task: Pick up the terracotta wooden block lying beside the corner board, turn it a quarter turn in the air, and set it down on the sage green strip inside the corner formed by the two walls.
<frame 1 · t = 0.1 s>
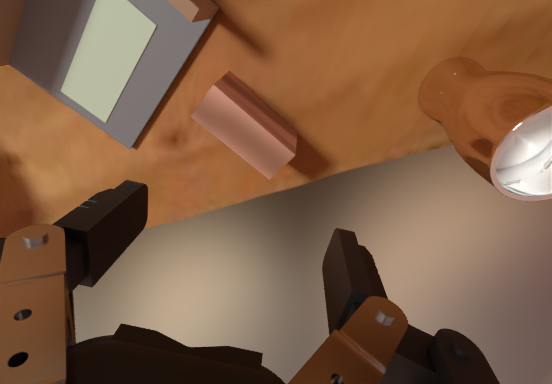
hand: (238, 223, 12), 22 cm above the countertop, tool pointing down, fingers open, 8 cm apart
block: (254, 115, 33), on the countertop
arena: (102, 33, 29), on the countertop
beer glass: (449, 89, 29), on the countertop
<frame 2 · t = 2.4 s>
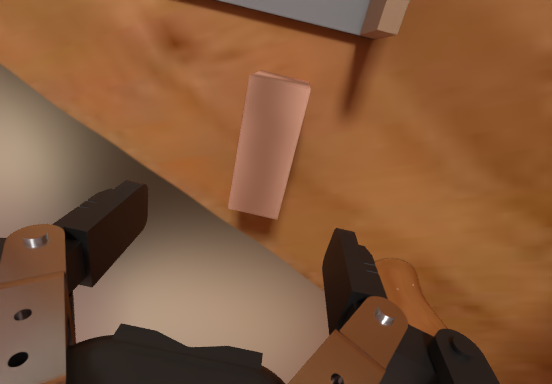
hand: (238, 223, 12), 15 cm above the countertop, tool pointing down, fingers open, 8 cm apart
block: (272, 134, 26), on the countertop
beer glass: (387, 278, 32), on the countertop
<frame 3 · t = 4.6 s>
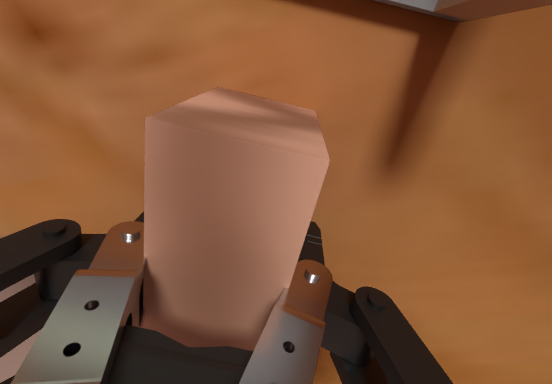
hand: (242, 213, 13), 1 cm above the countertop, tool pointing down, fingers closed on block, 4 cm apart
block: (246, 204, 14), on the countertop, touching gripper
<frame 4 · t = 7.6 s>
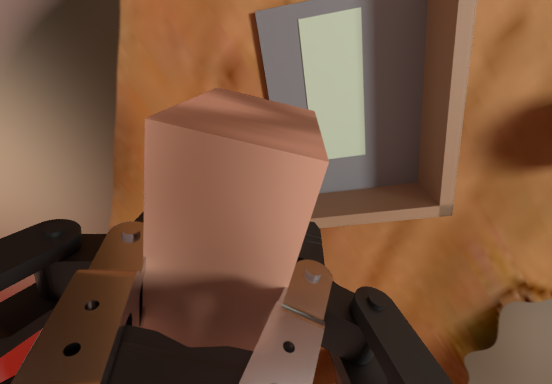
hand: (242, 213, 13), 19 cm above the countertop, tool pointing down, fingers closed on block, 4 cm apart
block: (245, 205, 14), point 19 cm above the countertop, touching gripper
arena: (350, 110, 29), on the countertop
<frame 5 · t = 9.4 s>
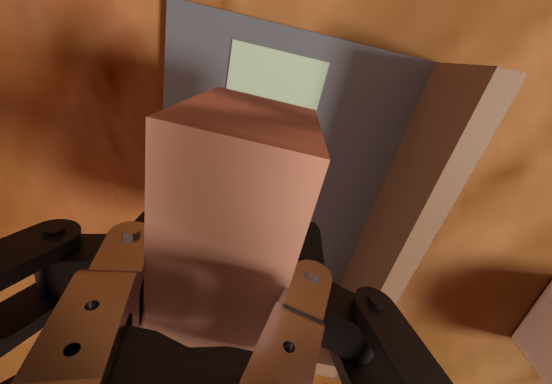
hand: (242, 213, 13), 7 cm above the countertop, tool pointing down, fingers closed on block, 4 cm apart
block: (246, 204, 14), point 6 cm above the countertop, touching gripper
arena: (275, 190, 20), on the countertop
when the fingers open (2 cm above the countertop, at t = 10.7 s): block stays where it is, resting on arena.
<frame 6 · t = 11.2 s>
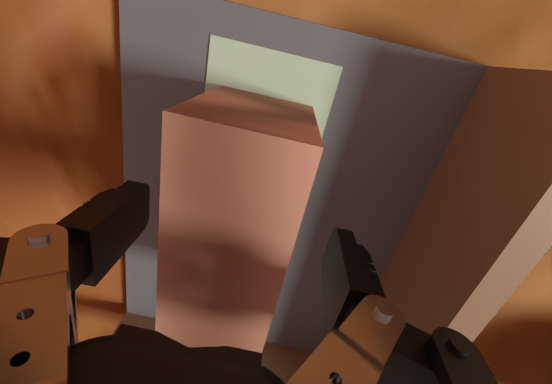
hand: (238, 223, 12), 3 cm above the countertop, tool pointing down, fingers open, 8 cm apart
block: (248, 196, 14), point 1 cm above the countertop, touching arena
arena: (270, 226, 16), on the countertop
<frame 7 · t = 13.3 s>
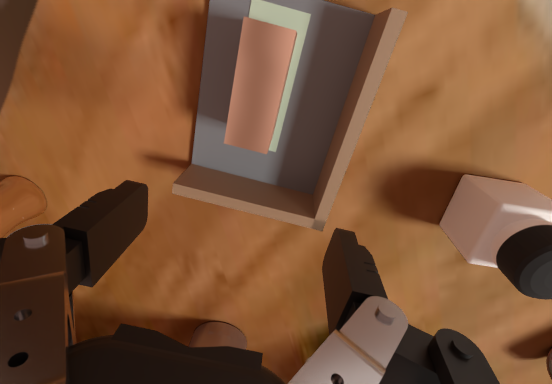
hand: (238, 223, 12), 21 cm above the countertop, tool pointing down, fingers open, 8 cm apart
block: (265, 83, 29), point 1 cm above the countertop, touching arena
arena: (275, 105, 30), on the countertop
medicine bottle: (478, 204, 34), on the countertop
beer glass: (26, 195, 38), on the countertop
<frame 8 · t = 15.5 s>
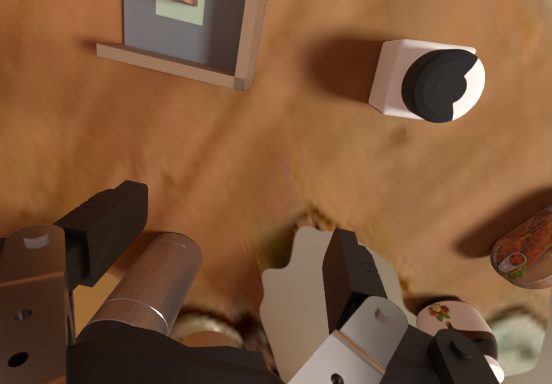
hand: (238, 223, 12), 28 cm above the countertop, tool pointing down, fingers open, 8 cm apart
medicine bottle: (403, 77, 35), on the countertop
spread jar: (435, 318, 52), on the countertop
tin: (528, 226, 42), on the countertop
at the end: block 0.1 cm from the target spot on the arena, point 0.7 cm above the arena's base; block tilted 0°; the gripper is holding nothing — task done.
